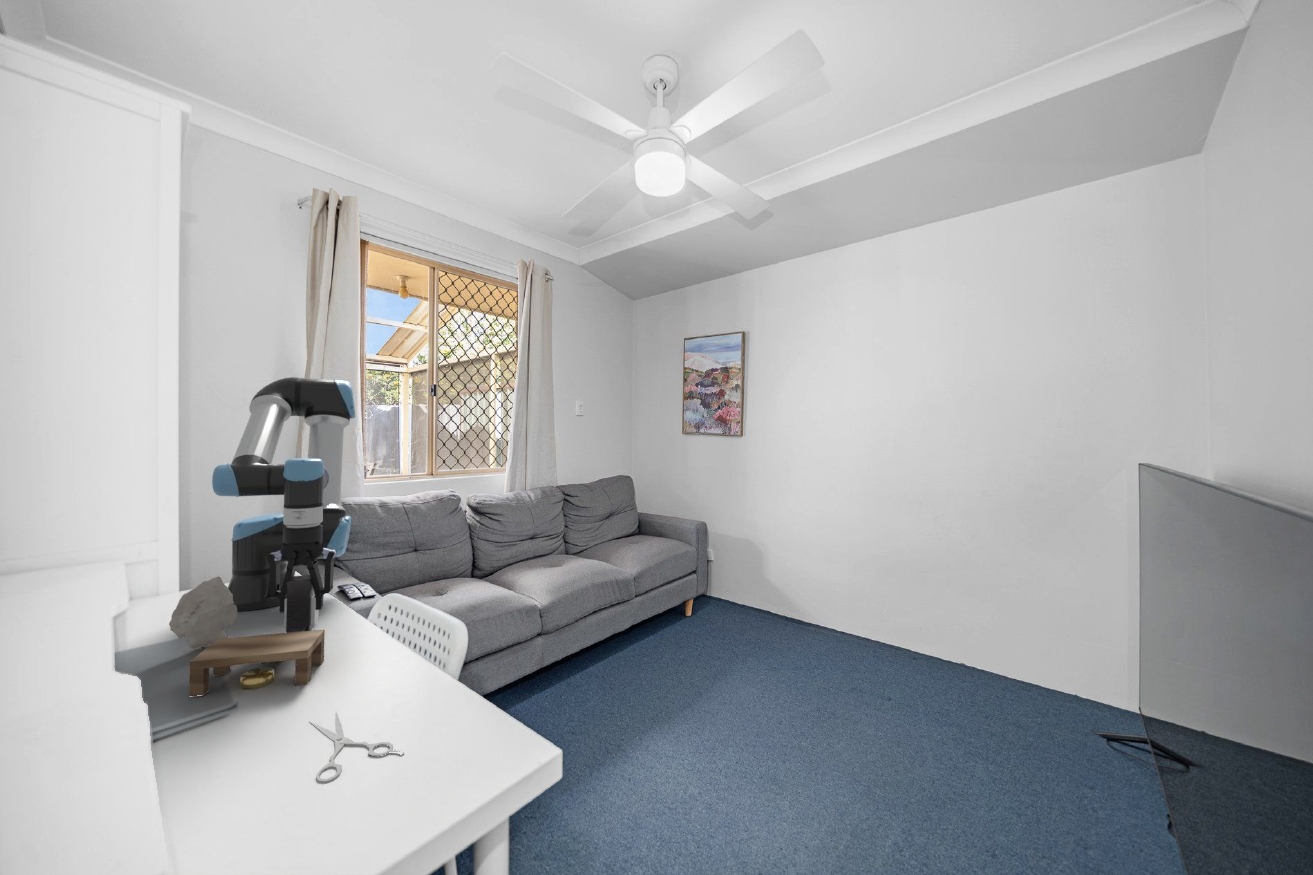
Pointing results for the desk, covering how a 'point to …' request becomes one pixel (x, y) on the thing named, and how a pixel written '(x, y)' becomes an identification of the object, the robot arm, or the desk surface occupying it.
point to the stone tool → (204, 613)
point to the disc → (257, 678)
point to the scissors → (340, 743)
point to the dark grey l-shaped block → (298, 605)
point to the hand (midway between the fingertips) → (301, 624)
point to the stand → (257, 655)
